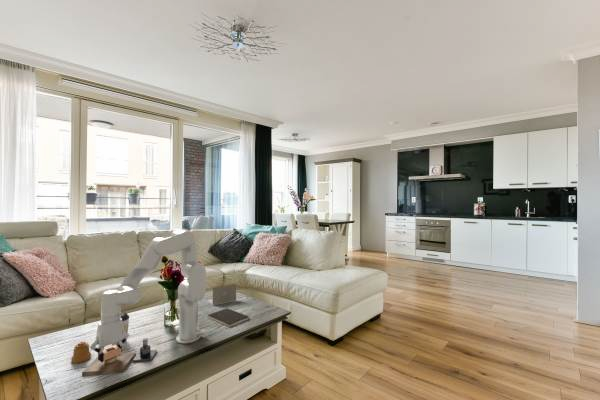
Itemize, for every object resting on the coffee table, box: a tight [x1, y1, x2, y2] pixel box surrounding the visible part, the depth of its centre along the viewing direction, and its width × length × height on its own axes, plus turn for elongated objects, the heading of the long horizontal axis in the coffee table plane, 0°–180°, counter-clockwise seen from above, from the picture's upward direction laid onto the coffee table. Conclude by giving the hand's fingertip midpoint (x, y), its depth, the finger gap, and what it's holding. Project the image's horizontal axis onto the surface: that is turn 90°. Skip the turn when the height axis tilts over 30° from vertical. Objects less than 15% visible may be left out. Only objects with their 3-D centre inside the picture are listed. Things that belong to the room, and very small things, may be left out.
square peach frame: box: [103, 345, 122, 360], centre depth 131 cm, size 6×6×2 cm
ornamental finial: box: [70, 341, 92, 364], centre depth 136 cm, size 8×8×8 cm
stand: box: [132, 337, 158, 363], centre depth 138 cm, size 8×8×8 cm
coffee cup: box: [111, 312, 130, 346], centre depth 152 cm, size 9×9×15 cm
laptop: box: [207, 283, 237, 306], centre depth 218 cm, size 18×12×13 cm
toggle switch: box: [81, 348, 137, 377], centre depth 131 cm, size 16×14×8 cm
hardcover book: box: [207, 307, 250, 328], centre depth 184 cm, size 16×23×2 cm
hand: (110, 357), depth 131 cm, fingers closed on square peach frame, 6 cm apart
